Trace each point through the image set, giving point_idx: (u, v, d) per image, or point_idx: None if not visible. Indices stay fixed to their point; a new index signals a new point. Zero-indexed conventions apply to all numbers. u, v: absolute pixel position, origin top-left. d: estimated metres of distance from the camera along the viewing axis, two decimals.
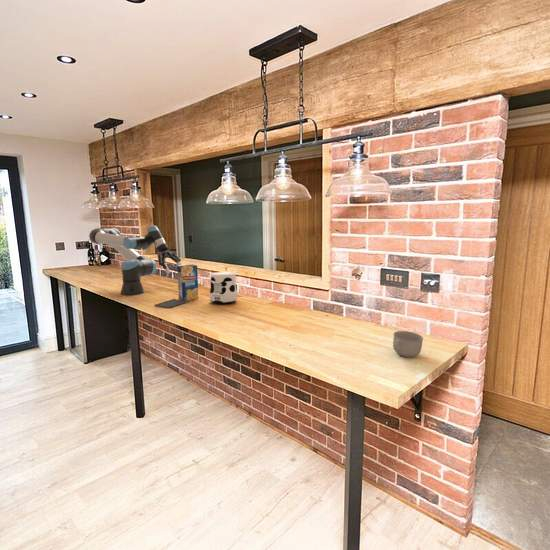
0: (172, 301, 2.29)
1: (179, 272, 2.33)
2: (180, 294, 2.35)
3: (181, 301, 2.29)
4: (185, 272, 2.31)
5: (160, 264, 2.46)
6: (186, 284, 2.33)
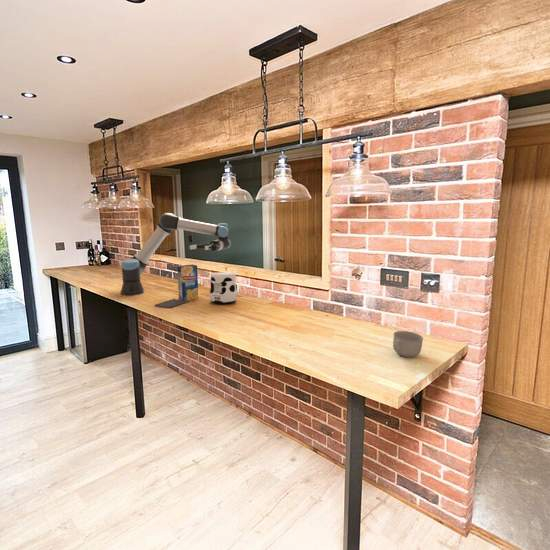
0: (172, 301, 2.29)
1: (179, 272, 2.33)
2: (180, 294, 2.35)
3: (181, 301, 2.29)
4: (185, 272, 2.31)
5: (215, 246, 2.49)
6: (186, 284, 2.33)
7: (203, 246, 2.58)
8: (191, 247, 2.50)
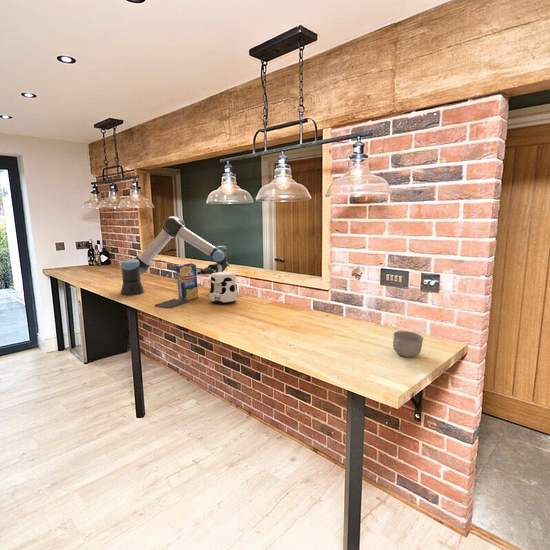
0: (172, 301, 2.29)
1: (178, 272, 2.31)
2: (180, 294, 2.34)
3: (181, 301, 2.29)
4: (184, 272, 2.30)
5: (204, 272, 2.44)
6: (185, 284, 2.31)
7: None
8: None
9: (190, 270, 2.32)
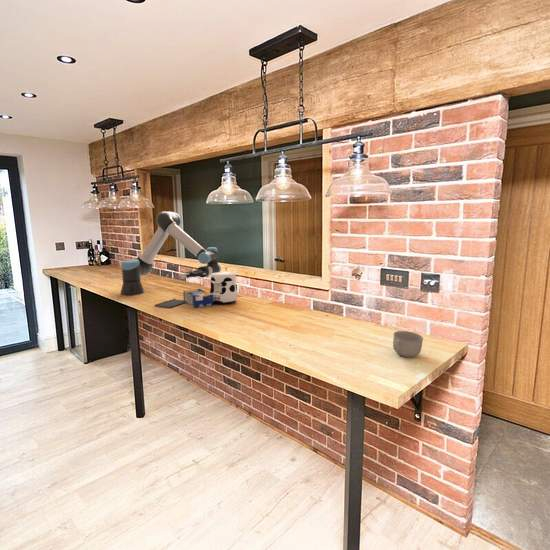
0: (172, 301, 2.29)
1: (193, 301, 2.17)
2: (185, 297, 2.29)
3: (181, 301, 2.29)
4: None
5: (193, 274, 2.34)
6: None
7: None
8: None
9: None
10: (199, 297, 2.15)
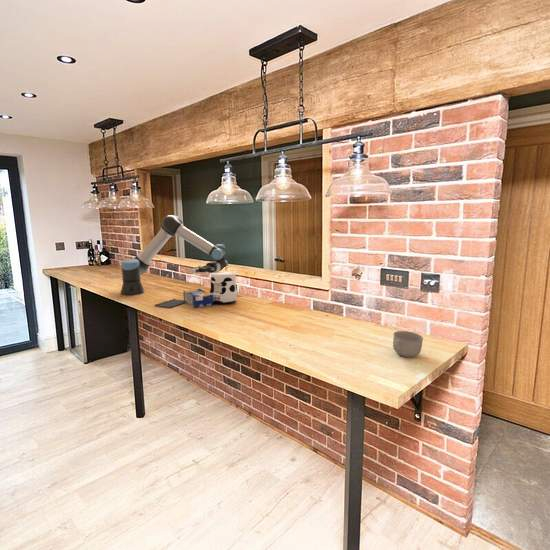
0: (172, 301, 2.29)
1: (193, 301, 2.17)
2: (185, 297, 2.29)
3: (181, 301, 2.29)
4: None
5: (202, 270, 2.45)
6: None
7: None
8: None
9: None
10: (199, 297, 2.15)
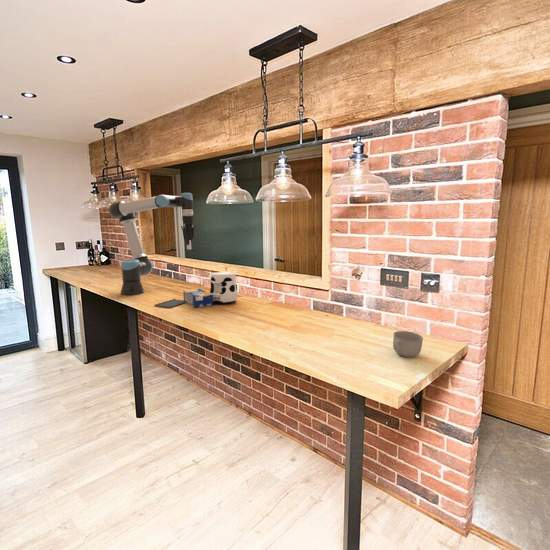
0: (172, 301, 2.29)
1: (193, 301, 2.17)
2: (185, 297, 2.29)
3: (181, 301, 2.29)
4: None
5: (185, 239, 2.53)
6: None
7: (189, 231, 2.56)
8: None
9: None
10: (199, 297, 2.15)
